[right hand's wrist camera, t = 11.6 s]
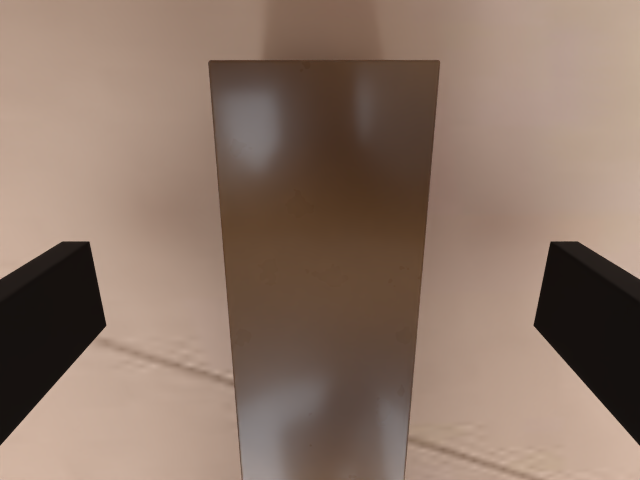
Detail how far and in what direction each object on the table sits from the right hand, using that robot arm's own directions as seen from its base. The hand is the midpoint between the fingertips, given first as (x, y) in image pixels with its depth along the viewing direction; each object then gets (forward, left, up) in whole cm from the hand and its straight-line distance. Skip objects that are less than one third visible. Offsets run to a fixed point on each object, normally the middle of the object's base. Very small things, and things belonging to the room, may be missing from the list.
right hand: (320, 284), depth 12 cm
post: (+19, +4, -7) cm, 20 cm away
